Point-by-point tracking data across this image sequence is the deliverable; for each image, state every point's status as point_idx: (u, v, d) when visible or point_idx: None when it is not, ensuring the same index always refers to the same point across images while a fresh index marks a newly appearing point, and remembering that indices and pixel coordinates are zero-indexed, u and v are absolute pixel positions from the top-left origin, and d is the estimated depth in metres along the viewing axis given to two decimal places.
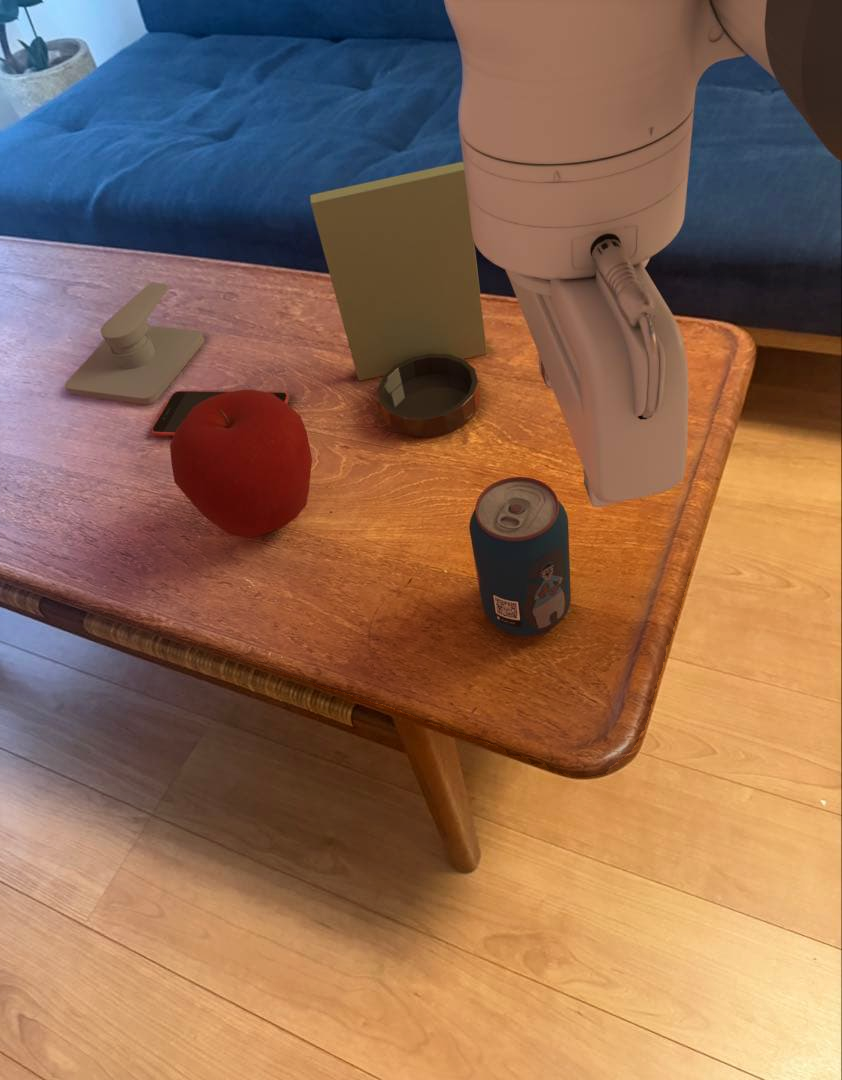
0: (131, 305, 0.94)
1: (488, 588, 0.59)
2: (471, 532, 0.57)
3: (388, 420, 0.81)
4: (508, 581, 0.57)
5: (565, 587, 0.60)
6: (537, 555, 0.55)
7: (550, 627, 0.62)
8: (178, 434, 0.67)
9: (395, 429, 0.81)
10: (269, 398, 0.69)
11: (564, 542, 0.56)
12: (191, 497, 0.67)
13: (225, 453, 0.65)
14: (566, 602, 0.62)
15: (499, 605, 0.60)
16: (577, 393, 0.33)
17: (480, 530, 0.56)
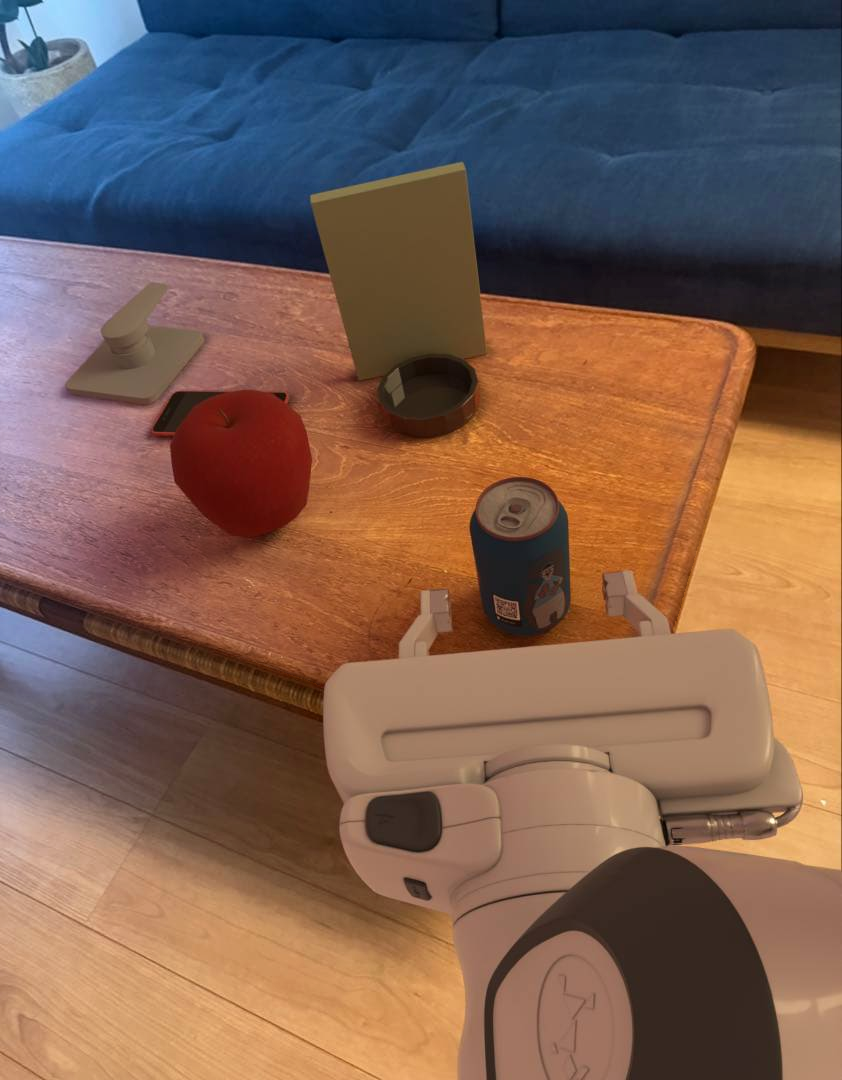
0: (131, 305, 0.94)
1: (488, 588, 0.59)
2: (471, 532, 0.57)
3: (388, 420, 0.81)
4: (508, 581, 0.57)
5: (565, 587, 0.60)
6: (537, 555, 0.55)
7: (550, 627, 0.62)
8: (178, 434, 0.67)
9: (395, 429, 0.81)
10: (269, 398, 0.69)
11: (564, 542, 0.56)
12: (191, 497, 0.67)
13: (225, 453, 0.65)
14: (566, 602, 0.62)
15: (499, 605, 0.60)
16: None
17: (480, 530, 0.56)
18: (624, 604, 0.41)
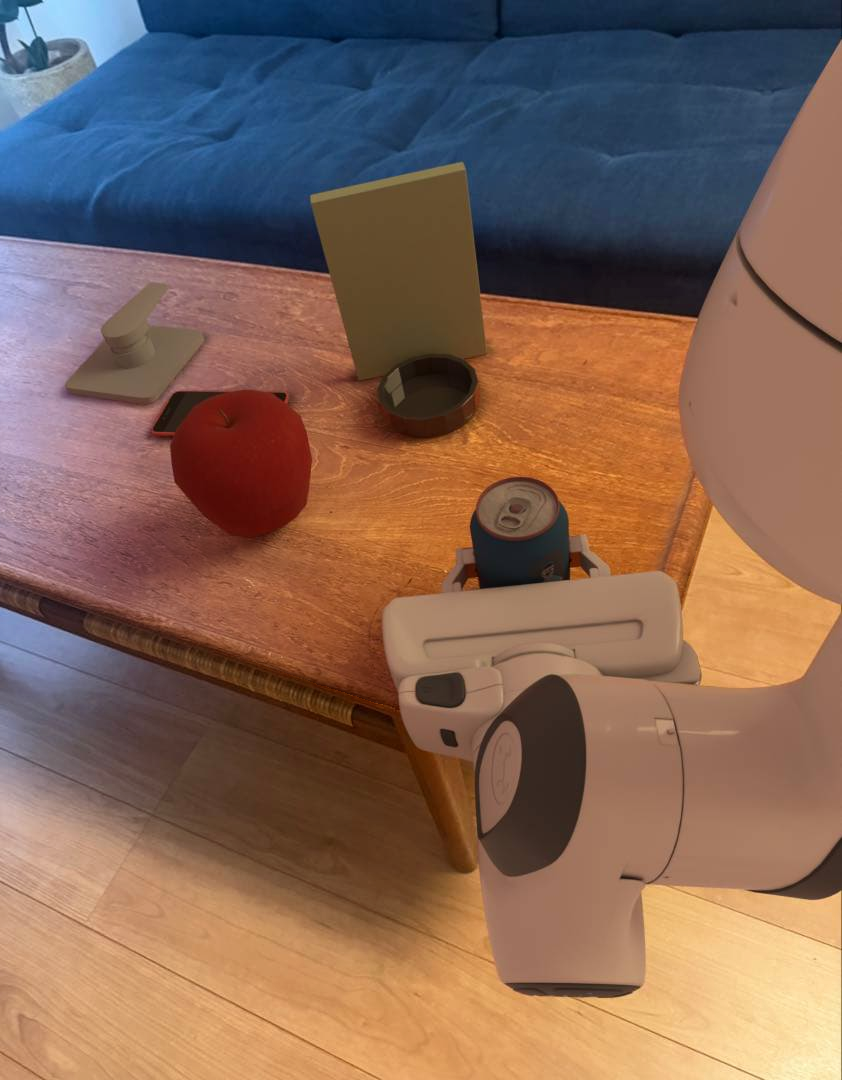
0: (130, 305, 0.94)
1: None
2: (471, 532, 0.57)
3: (388, 420, 0.81)
4: (508, 581, 0.57)
5: None
6: (538, 555, 0.55)
7: None
8: (178, 434, 0.67)
9: (395, 429, 0.81)
10: (269, 398, 0.69)
11: (564, 542, 0.56)
12: (191, 497, 0.67)
13: (225, 453, 0.65)
14: None
15: None
16: None
17: (481, 530, 0.56)
18: (580, 558, 0.59)
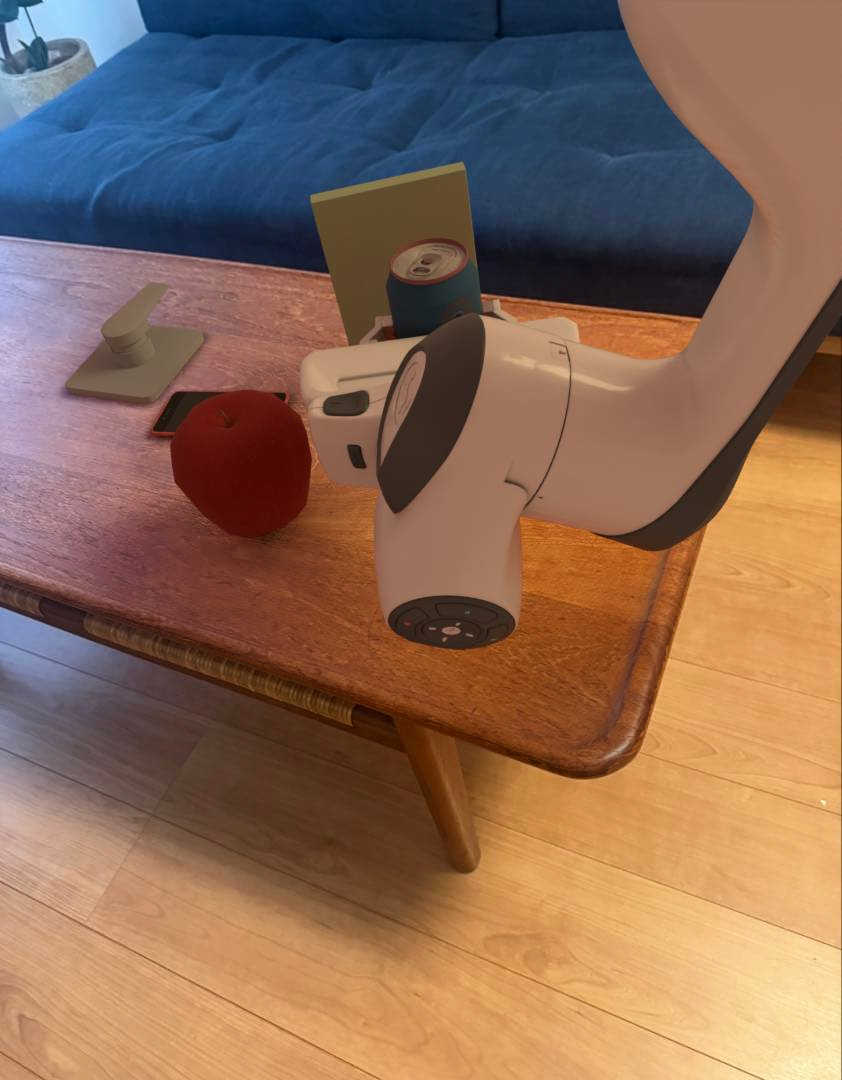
0: (130, 305, 0.94)
1: None
2: (387, 288, 0.60)
3: None
4: (422, 334, 0.60)
5: None
6: (447, 300, 0.58)
7: None
8: (178, 434, 0.67)
9: None
10: (269, 398, 0.69)
11: (474, 294, 0.59)
12: (191, 497, 0.67)
13: (225, 453, 0.65)
14: None
15: None
16: None
17: (394, 281, 0.59)
18: None
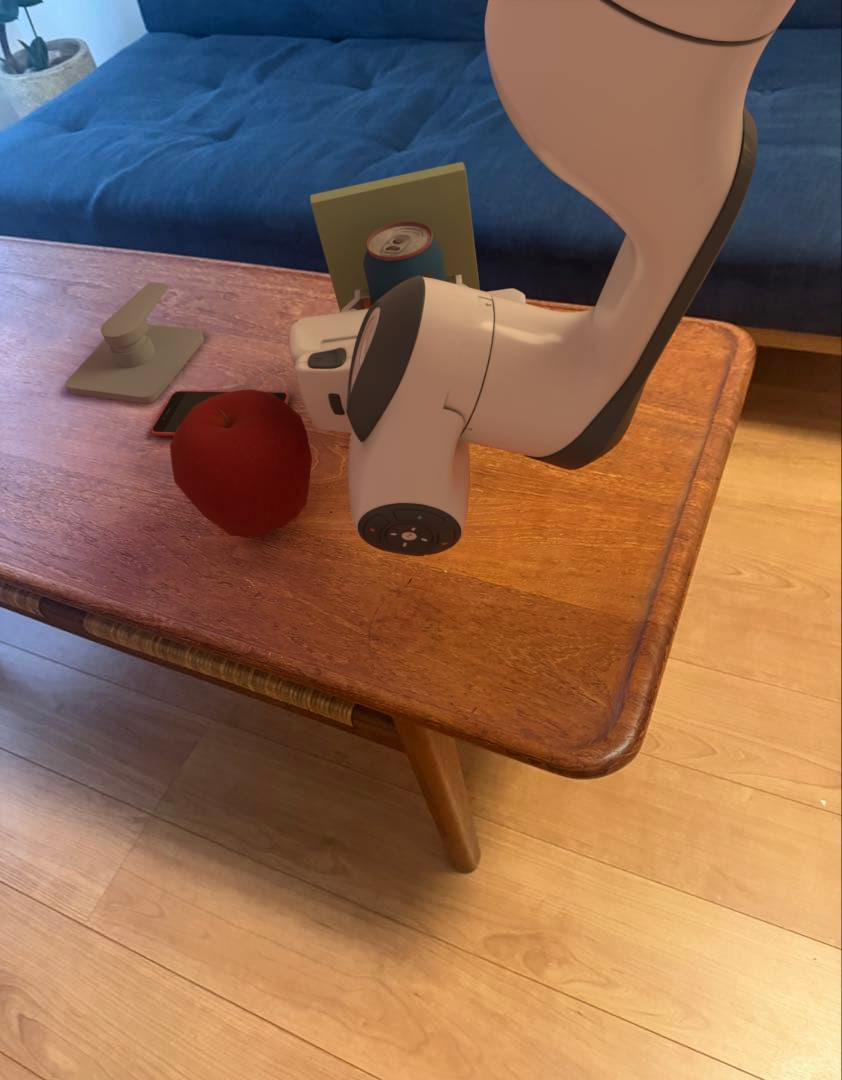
0: (130, 305, 0.94)
1: None
2: (364, 264, 0.70)
3: None
4: None
5: None
6: (414, 274, 0.68)
7: None
8: (178, 434, 0.67)
9: None
10: (269, 398, 0.69)
11: (438, 269, 0.70)
12: (191, 497, 0.67)
13: (225, 453, 0.65)
14: None
15: None
16: None
17: (369, 257, 0.69)
18: None
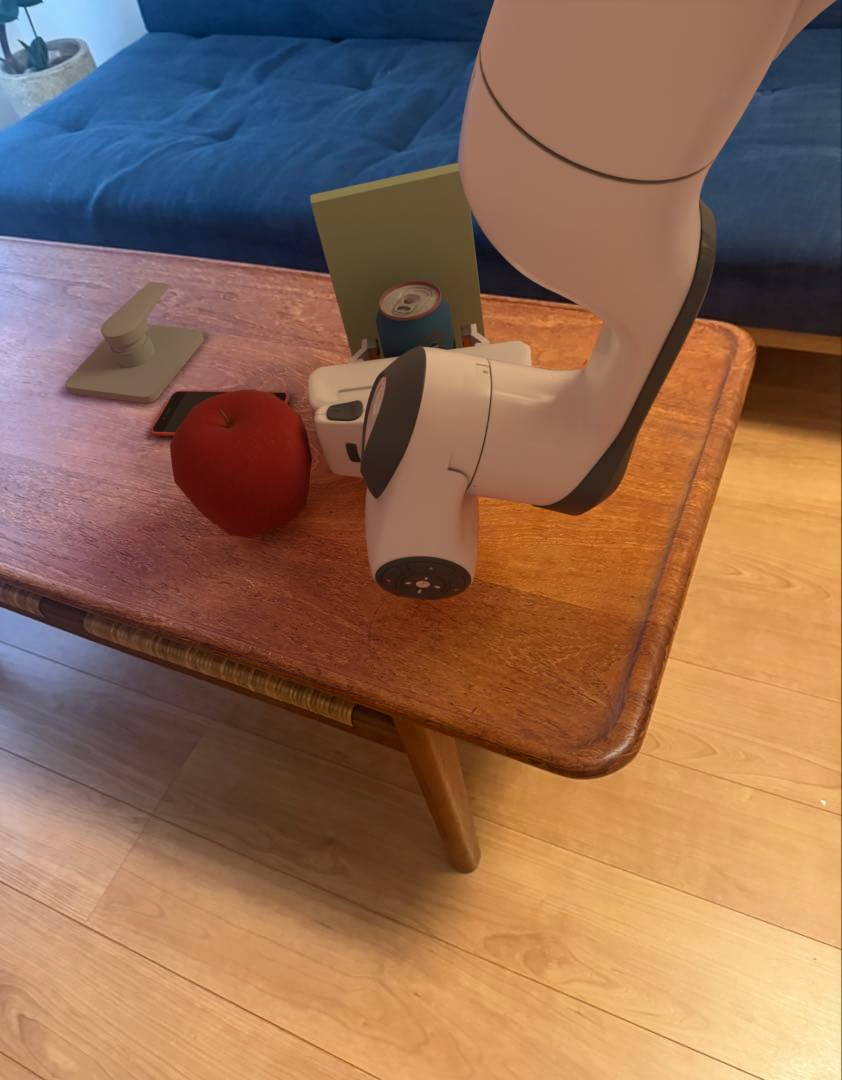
0: (130, 304, 0.94)
1: None
2: (376, 321, 0.75)
3: None
4: None
5: None
6: (424, 333, 0.73)
7: None
8: (178, 434, 0.67)
9: None
10: (269, 398, 0.69)
11: (446, 327, 0.74)
12: (191, 497, 0.67)
13: (225, 453, 0.65)
14: None
15: None
16: None
17: (382, 316, 0.74)
18: (470, 340, 0.76)
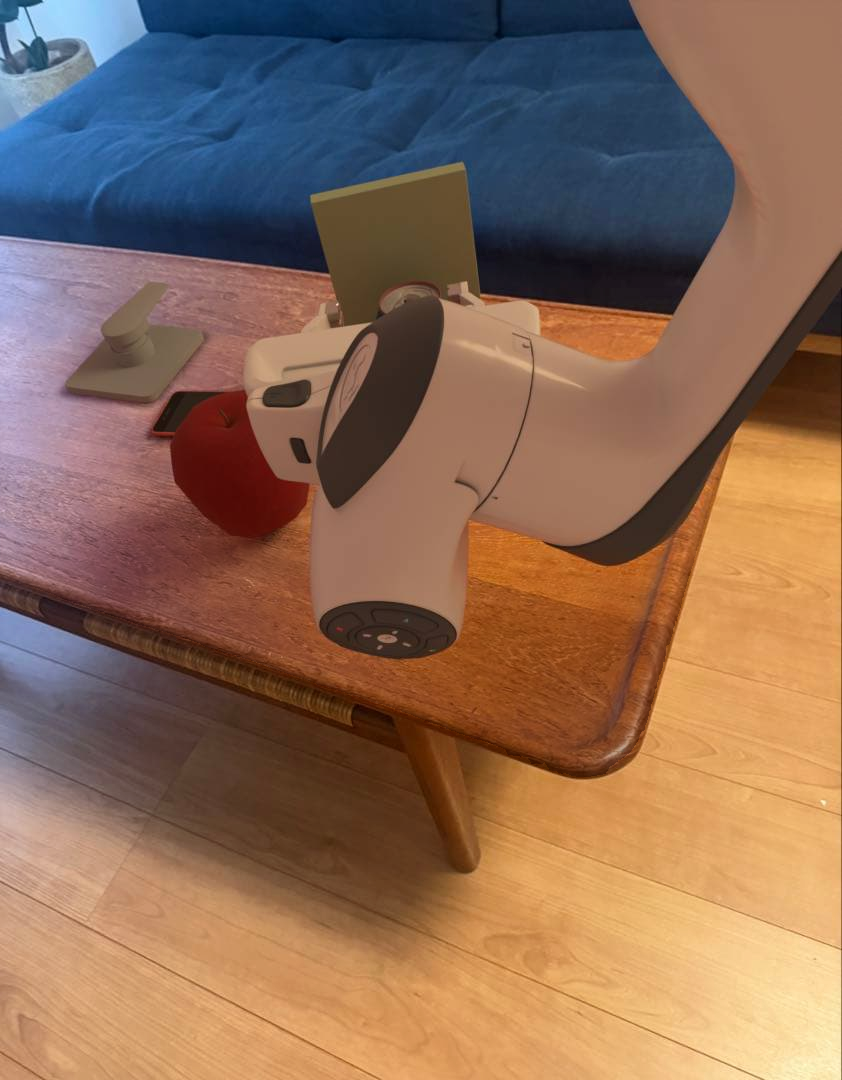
0: (130, 304, 0.95)
1: None
2: None
3: None
4: None
5: None
6: None
7: None
8: (178, 434, 0.67)
9: None
10: None
11: None
12: (191, 497, 0.67)
13: (225, 453, 0.65)
14: None
15: None
16: None
17: None
18: (460, 303, 0.58)
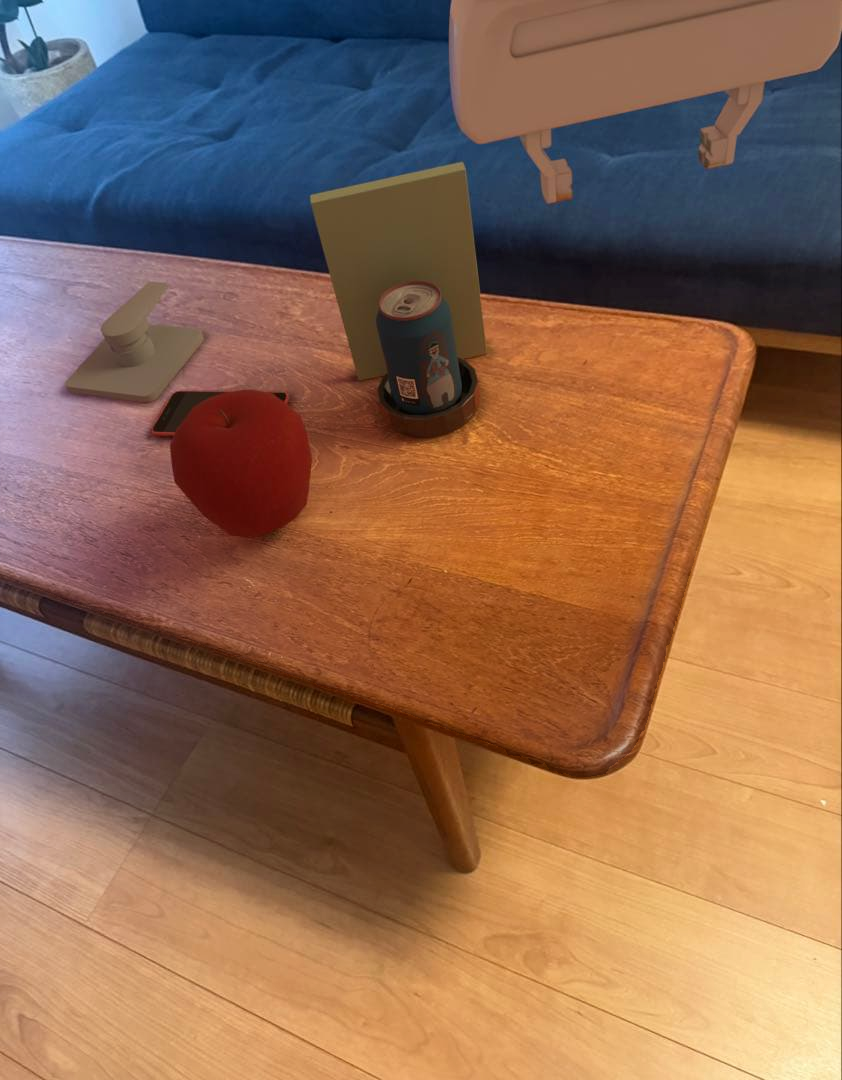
0: (130, 304, 0.95)
1: (392, 371, 0.77)
2: (376, 321, 0.75)
3: (388, 420, 0.81)
4: (404, 359, 0.75)
5: (452, 372, 0.78)
6: (424, 333, 0.73)
7: (443, 408, 0.79)
8: (178, 434, 0.67)
9: (395, 429, 0.81)
10: (269, 398, 0.69)
11: (446, 327, 0.74)
12: (191, 497, 0.67)
13: (225, 453, 0.65)
14: (455, 388, 0.79)
15: (402, 386, 0.78)
16: None
17: (382, 316, 0.74)
18: (719, 129, 0.47)
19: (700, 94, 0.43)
